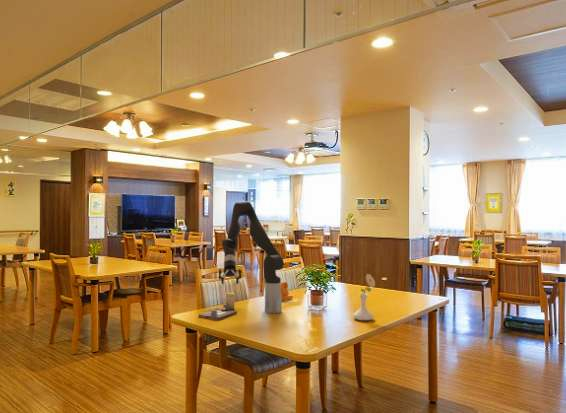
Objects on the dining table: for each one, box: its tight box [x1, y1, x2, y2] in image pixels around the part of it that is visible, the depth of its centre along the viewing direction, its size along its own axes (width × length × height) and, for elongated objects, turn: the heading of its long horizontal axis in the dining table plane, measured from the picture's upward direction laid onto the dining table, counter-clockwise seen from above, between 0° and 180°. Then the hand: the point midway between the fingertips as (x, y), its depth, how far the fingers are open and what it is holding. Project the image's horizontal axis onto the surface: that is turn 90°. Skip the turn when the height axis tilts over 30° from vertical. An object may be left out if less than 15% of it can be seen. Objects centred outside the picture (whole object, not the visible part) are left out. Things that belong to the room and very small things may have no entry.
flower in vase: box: [352, 273, 376, 321], centre depth 232 cm, size 13×11×25 cm
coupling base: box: [198, 308, 237, 321], centre depth 236 cm, size 14×17×2 cm
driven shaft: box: [210, 309, 217, 317], centre depth 230 cm, size 3×4×3 cm
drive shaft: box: [220, 303, 229, 311], centre depth 242 cm, size 3×4×3 cm
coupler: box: [225, 292, 236, 311], centre depth 250 cm, size 5×5×10 cm
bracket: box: [280, 280, 294, 302], centre depth 283 cm, size 11×7×12 cm, turn 125°
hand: (229, 283), depth 260 cm, fingers open, 8 cm apart
